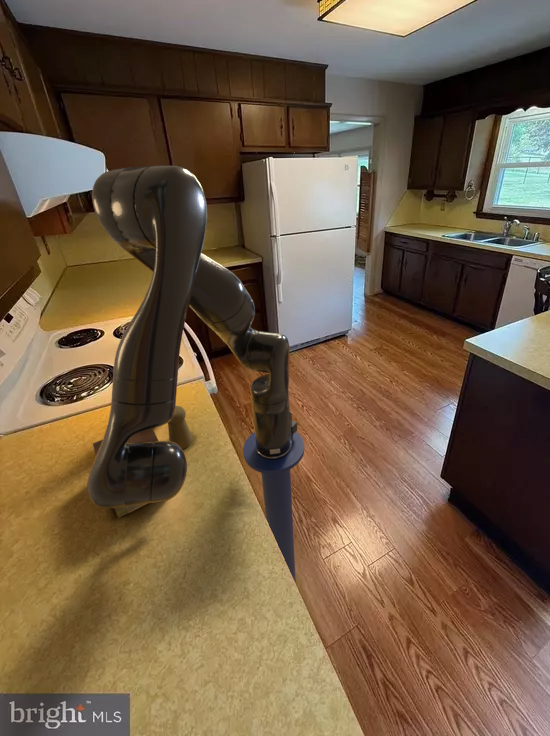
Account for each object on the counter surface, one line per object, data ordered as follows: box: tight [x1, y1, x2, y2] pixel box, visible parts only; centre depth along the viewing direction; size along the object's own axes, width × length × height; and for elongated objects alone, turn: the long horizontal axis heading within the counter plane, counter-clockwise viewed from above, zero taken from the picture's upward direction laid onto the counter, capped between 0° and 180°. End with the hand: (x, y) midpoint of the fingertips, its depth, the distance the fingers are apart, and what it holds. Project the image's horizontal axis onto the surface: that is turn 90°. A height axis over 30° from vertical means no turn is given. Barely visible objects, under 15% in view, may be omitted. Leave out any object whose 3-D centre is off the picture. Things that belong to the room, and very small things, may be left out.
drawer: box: [115, 503, 149, 519], centre depth 73 cm, size 18×11×8 cm, turn 36°
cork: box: [167, 405, 194, 450], centre depth 87 cm, size 6×6×11 cm
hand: (139, 482), depth 68 cm, fingers closed
